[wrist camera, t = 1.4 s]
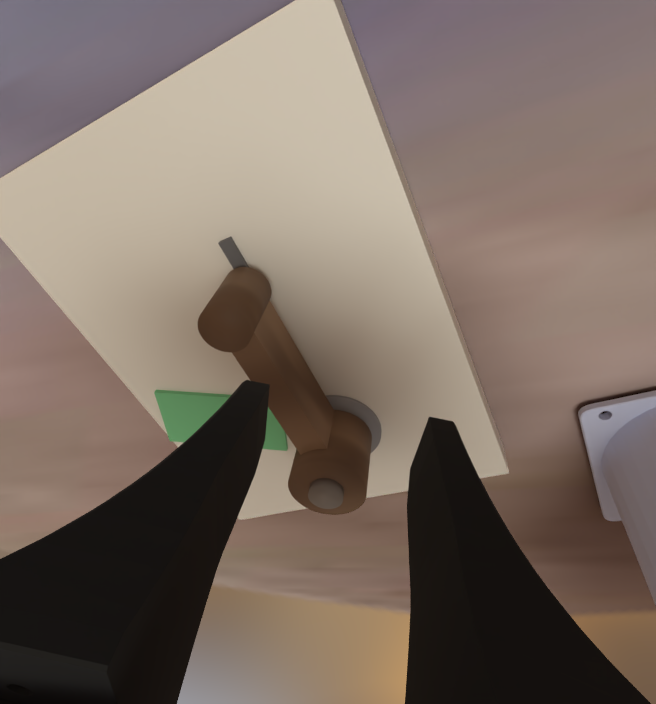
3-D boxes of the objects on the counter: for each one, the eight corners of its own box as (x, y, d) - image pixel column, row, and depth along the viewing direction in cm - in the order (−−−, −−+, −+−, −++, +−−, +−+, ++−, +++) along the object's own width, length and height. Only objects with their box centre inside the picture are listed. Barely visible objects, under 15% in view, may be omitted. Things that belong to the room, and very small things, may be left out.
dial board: (334, -17, 14) (325, -19, 13) (504, 449, 24) (509, 476, 22) (-5, 185, 19) (-37, 199, 18) (246, 498, 29) (238, 523, 28)
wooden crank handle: (382, 452, 22) (377, 516, 19) (320, 465, 23) (307, 527, 21) (273, 253, 17) (246, 301, 14) (200, 282, 18) (162, 332, 15)
